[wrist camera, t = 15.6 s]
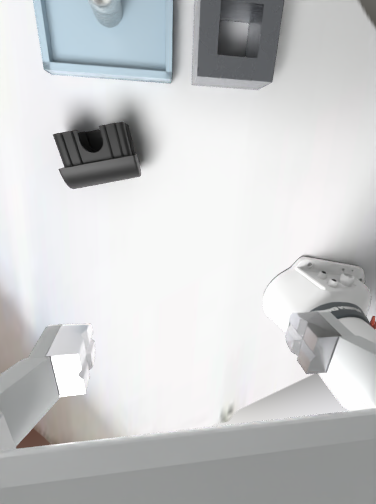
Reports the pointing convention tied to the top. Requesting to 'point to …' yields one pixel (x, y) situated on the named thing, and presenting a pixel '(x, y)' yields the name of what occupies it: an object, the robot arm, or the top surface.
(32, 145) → the top surface
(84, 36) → the tray
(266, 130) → the top surface
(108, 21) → the gold and grey cylinder
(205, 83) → the socket block
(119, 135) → the end cap
